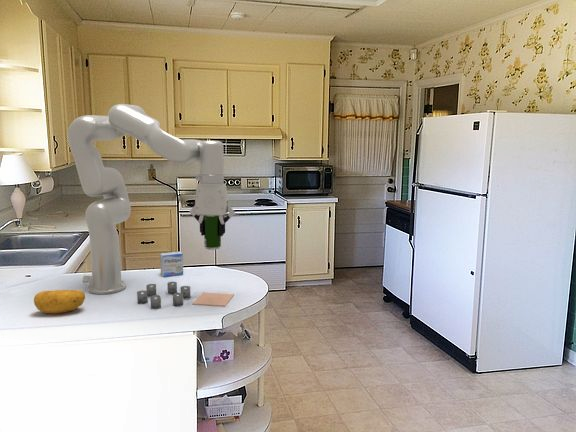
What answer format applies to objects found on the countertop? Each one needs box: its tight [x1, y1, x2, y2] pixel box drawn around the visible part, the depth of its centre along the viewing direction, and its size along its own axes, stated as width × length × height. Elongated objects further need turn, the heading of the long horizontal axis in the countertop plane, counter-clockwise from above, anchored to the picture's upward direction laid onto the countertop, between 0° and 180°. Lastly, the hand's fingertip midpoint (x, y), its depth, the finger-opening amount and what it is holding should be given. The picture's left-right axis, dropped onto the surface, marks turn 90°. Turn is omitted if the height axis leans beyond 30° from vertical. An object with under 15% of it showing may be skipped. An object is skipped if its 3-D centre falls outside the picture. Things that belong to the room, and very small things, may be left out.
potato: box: [33, 289, 86, 315], centre depth 149 cm, size 7×14×7 cm, turn 100°
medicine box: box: [159, 251, 184, 278], centre depth 188 cm, size 8×4×9 cm, turn 117°
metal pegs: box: [136, 281, 191, 310], centre depth 161 cm, size 15×17×4 cm
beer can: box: [203, 215, 222, 251], centre depth 158 cm, size 5×5×12 cm
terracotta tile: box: [191, 291, 235, 307], centre depth 162 cm, size 11×11×1 cm
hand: (212, 234), depth 158 cm, fingers closed on beer can, 5 cm apart
